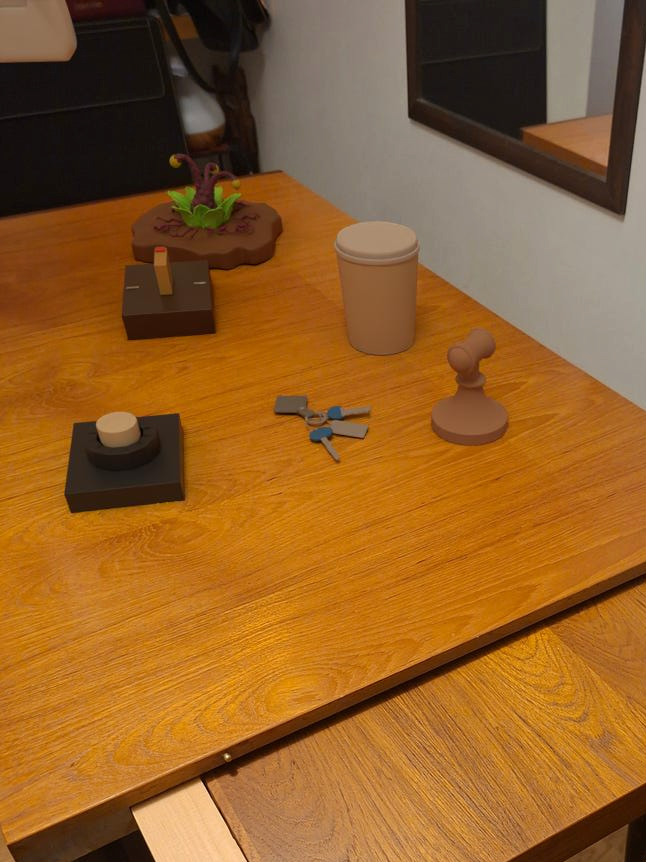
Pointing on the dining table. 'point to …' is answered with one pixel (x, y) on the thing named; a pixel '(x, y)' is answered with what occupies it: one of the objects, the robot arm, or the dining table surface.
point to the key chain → (323, 419)
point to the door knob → (470, 396)
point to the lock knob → (163, 271)
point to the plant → (207, 224)
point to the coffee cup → (378, 285)
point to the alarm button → (118, 429)
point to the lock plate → (168, 301)
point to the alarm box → (126, 467)
